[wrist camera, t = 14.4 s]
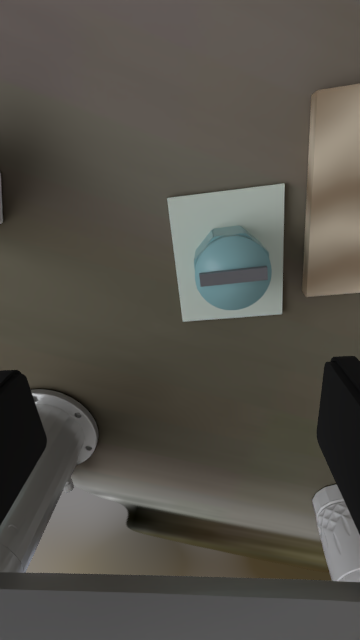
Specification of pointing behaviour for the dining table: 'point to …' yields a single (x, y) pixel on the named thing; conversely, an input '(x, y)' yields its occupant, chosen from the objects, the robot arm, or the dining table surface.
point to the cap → (231, 268)
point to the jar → (0, 212)
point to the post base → (333, 194)
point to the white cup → (337, 534)
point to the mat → (217, 212)
